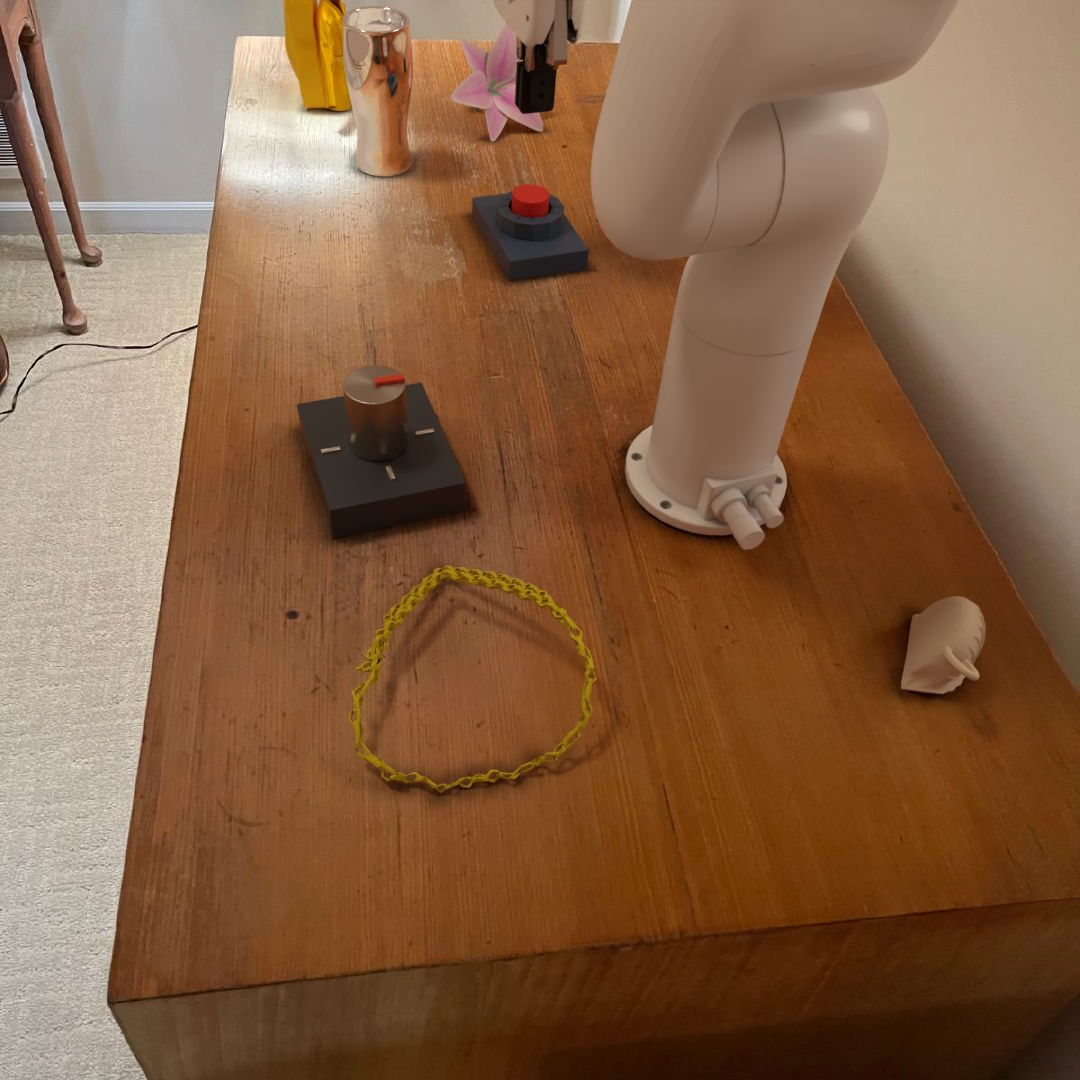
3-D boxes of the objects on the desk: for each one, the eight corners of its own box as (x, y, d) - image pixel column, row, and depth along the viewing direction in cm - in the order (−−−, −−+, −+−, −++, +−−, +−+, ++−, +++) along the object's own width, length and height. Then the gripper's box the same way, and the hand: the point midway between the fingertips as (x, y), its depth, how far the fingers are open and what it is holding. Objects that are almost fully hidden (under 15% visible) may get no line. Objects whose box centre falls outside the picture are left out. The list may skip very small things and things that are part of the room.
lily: (433, 148, 116) (463, 89, 108) (430, 66, 120) (459, 4, 112) (529, 172, 121) (564, 118, 113) (523, 93, 125) (557, 35, 117)
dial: (355, 466, 75) (349, 405, 70) (343, 427, 77) (337, 366, 73) (414, 455, 76) (411, 394, 71) (400, 418, 78) (397, 357, 74)
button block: (586, 269, 99) (590, 232, 97) (509, 281, 97) (511, 244, 94) (544, 207, 107) (547, 171, 104) (471, 217, 105) (472, 180, 102)
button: (553, 216, 99) (554, 200, 98) (518, 221, 98) (519, 205, 97) (540, 198, 101) (542, 182, 100) (506, 202, 100) (507, 186, 99)
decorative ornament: (971, 633, 71) (1001, 584, 67) (957, 727, 66) (989, 679, 62) (913, 614, 72) (939, 564, 68) (894, 705, 67) (922, 656, 63)
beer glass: (400, 184, 108) (393, 38, 97) (340, 170, 109) (327, 24, 98) (425, 155, 113) (422, 13, 102) (368, 142, 114) (358, 0, 103)
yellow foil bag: (353, 137, 115) (337, -83, 99) (282, 134, 114) (254, -87, 98) (363, 69, 127) (350, -136, 111) (299, 66, 126) (276, -141, 110)
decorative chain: (438, 570, 72) (429, 527, 69) (635, 636, 68) (636, 593, 64) (313, 759, 63) (295, 721, 60) (531, 851, 58) (526, 815, 55)
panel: (465, 511, 76) (465, 480, 74) (333, 539, 74) (329, 509, 71) (422, 410, 84) (421, 380, 82) (300, 432, 81) (296, 402, 79)
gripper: (473, -152, 82) (469, 76, 96) (536, -89, 73) (522, 153, 87) (560, -155, 84) (544, 69, 98) (631, -93, 75) (603, 144, 89)
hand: (534, 108), depth 92 cm, fingers closed
